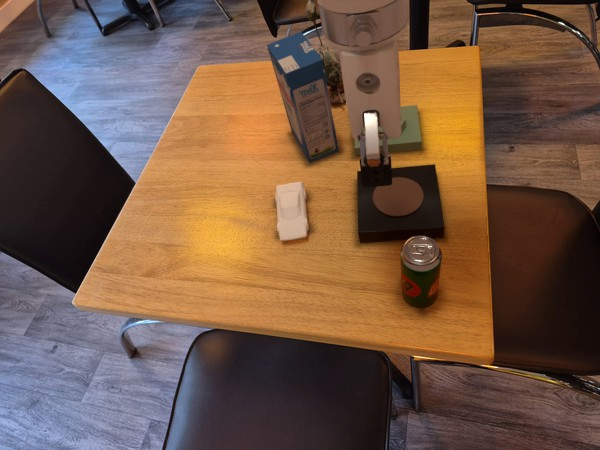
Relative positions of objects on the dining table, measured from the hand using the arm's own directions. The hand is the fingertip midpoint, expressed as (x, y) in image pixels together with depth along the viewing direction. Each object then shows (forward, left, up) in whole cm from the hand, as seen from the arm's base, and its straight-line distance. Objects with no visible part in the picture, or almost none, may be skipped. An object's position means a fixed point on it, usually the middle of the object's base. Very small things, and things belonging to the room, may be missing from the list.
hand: (376, 152), depth 51 cm
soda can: (-5, +7, -22) cm, 24 cm away
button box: (-2, -27, -22) cm, 35 cm away
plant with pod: (+8, -41, -22) cm, 47 cm away
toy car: (+15, -9, -22) cm, 29 cm away
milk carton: (+12, -27, -22) cm, 37 cm away
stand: (-3, -9, -22) cm, 24 cm away
